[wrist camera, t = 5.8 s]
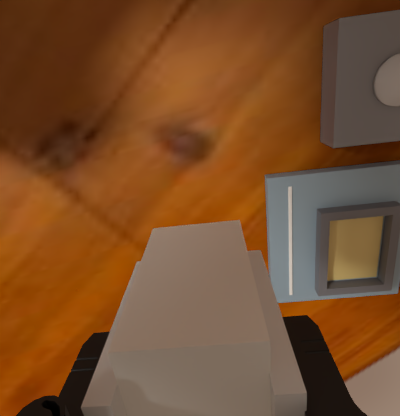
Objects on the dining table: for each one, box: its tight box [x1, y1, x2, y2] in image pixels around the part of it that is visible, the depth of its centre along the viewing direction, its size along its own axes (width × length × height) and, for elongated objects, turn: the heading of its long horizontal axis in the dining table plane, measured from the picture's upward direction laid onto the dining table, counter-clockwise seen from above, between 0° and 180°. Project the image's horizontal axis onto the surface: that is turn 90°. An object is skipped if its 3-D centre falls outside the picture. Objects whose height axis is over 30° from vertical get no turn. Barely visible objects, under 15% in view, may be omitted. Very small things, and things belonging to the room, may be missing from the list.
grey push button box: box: [320, 10, 400, 148], centre depth 23 cm, size 9×9×3 cm
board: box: [265, 160, 400, 303], centre depth 29 cm, size 14×13×2 cm
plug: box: [108, 220, 272, 416], centre depth 12 cm, size 6×4×7 cm
